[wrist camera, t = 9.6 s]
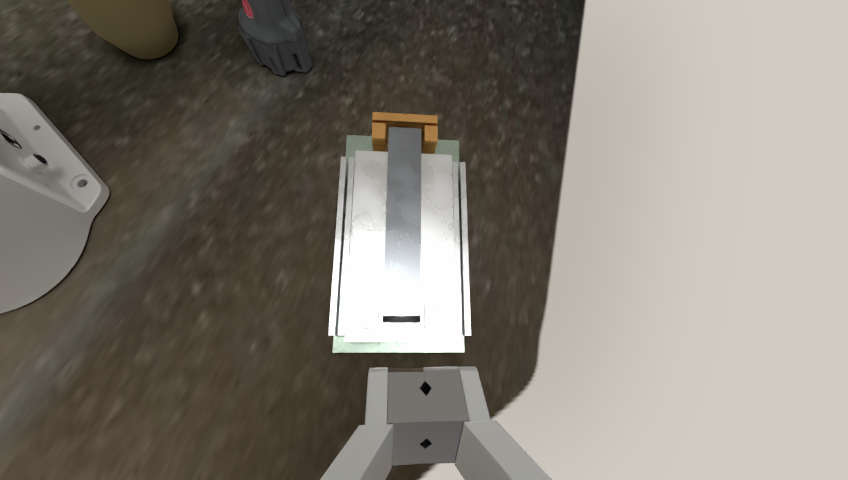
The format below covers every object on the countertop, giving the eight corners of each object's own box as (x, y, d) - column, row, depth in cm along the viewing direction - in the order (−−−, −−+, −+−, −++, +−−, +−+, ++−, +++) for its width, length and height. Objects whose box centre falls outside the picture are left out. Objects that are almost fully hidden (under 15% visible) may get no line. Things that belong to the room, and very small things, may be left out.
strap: (419, 322, 29) (420, 322, 28) (382, 322, 28) (382, 322, 27) (420, 134, 33) (421, 128, 32) (388, 133, 33) (388, 126, 32)
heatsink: (461, 351, 34) (480, 356, 26) (335, 351, 33) (319, 356, 25) (456, 147, 39) (470, 106, 32) (348, 142, 38) (338, 98, 31)
